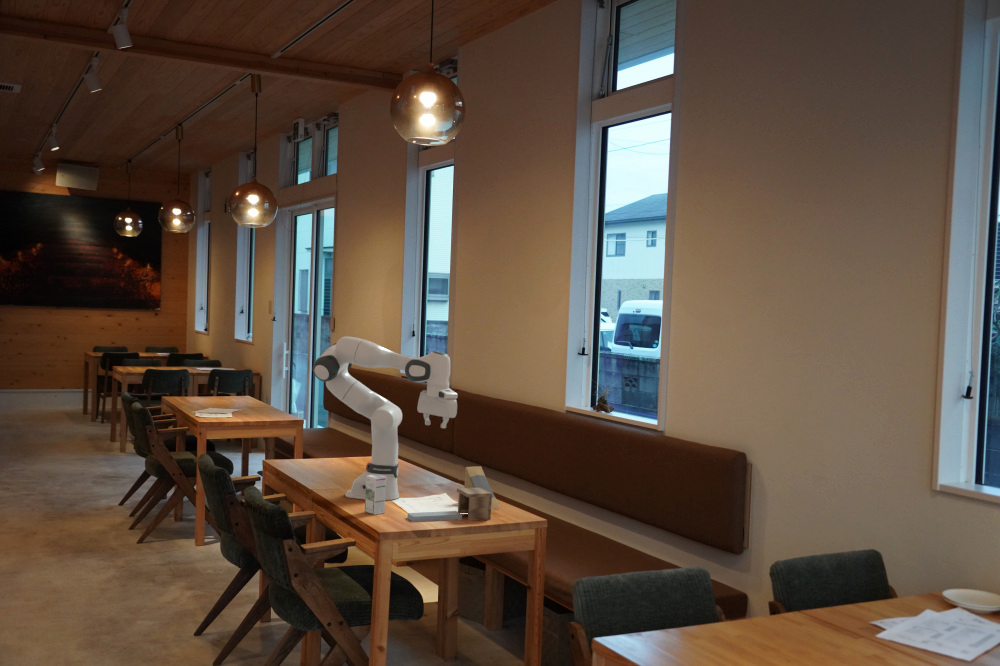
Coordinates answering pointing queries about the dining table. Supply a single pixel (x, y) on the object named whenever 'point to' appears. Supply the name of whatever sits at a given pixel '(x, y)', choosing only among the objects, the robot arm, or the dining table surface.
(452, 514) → the panel
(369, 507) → the syrup box
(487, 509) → the open wooden box
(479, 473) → the sandwich container
